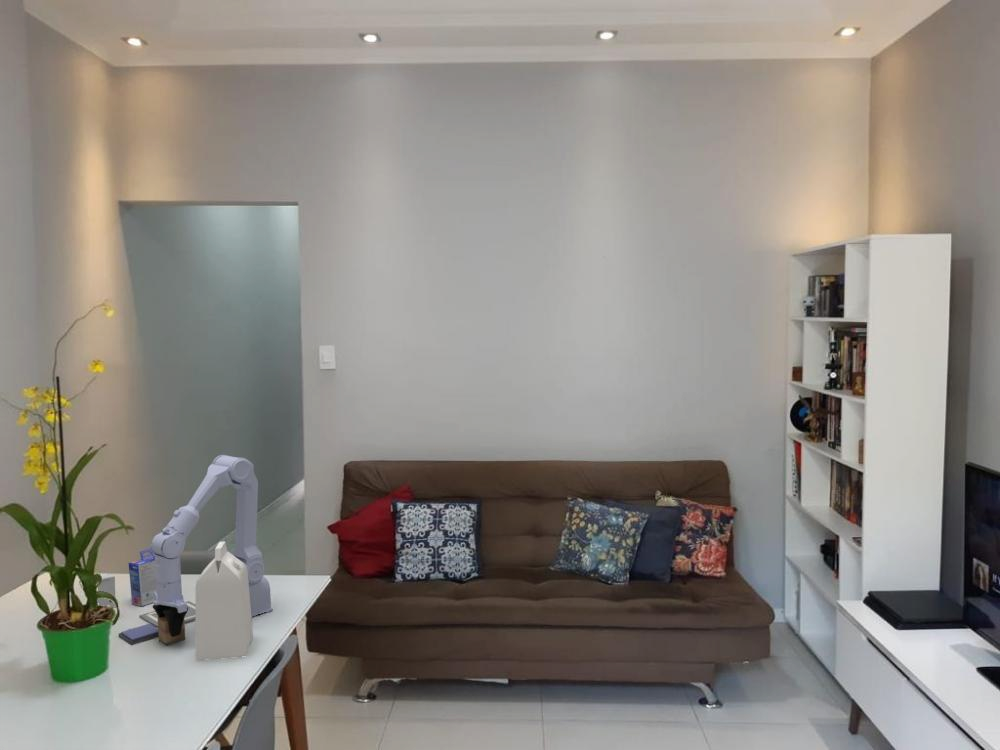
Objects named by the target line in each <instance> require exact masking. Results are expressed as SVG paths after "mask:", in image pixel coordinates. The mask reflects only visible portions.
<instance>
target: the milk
mask: <svg viewBox="0 0 1000 750" xmlns="http://www.w3.org/2000/svg"><path fill="white" fill-rule="evenodd" d="M196 579H197V580H196V582H195V588H194V589H195V592H194V593H195V600H194V601H195V603H194V604H195V620H196V621H195V661H196V660H204V661H206V660H205V659H215V660H222V659H221V658H227V659H232V658H231V657H238V658H243V657H242V656H246V657H247V655H248V652H249V650H248V649H250V647H249V646H251V644H252V641H253V638H254V633H253V632H254V631H253V618H252V617H251V606H250V593H249V581H248V570H247V567H246V565H245V564H244V563H243V562H242V561H240V560H239V559H237V558H236V557H235V556H233V555H232V554H231V553H230V551H228V549H227V543H226V541H224V540H223V541H218V543H217V545H216V547H215V548H214V558H213V559H212V560H211V561H210V562H209V563H208V565H206V566H205V568H204V569H203V570H202V571H201V573H200V575H199V576H198V578H196ZM250 643H251V644H250Z"/></svg>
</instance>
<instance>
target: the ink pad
mask: <svg viewBox="0 0 1000 750" xmlns="http://www.w3.org/2000/svg"><path fill="white" fill-rule="evenodd" d="M118 638H120V639H122V640H123V641H124V642H126V643H128V644H129V645H131V646H133V645H136V644H139V643H142V642H146V641H150V640H152V639H155V638H159V636H158V628H156V627H155V626H153V625H151V624H150V623H147V624H143V625H139V626H136V627H133V628H131V629H130V628H129V629H127V630H124V631H123V630H122V631H121V632H119V633H118Z"/></svg>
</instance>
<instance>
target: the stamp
mask: <svg viewBox="0 0 1000 750" xmlns="http://www.w3.org/2000/svg"><path fill="white" fill-rule="evenodd" d="M157 629H158V636H159V637H158V642H159V643H161V644H162V645H163V646H166V647H167V646H169V645H173V644H176V643H179V642H181V641H185V640H186V627H185V622H184V620H183V624H182V629H181V633H180V635H178V636H174V637H172V636H171V634H170V630H169V624H168V621H167V618H166V616H164V617H160V618H158V628H157Z"/></svg>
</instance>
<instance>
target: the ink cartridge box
mask: <svg viewBox="0 0 1000 750" xmlns="http://www.w3.org/2000/svg"><path fill="white" fill-rule="evenodd" d="M146 553H149V554H146ZM144 554H145V555H144ZM139 556H140V559H136V560H133V561H131V562H128V573H129V583H130V595H131V604H132V605H135V606H137V607H144V606H148V605H150V604H153V601H154V593H153V592H156V591H157V582H156V564H155V555H154V554H153V553H152V552H151V550H150V548H149V549H144V550H141V551H139Z"/></svg>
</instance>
